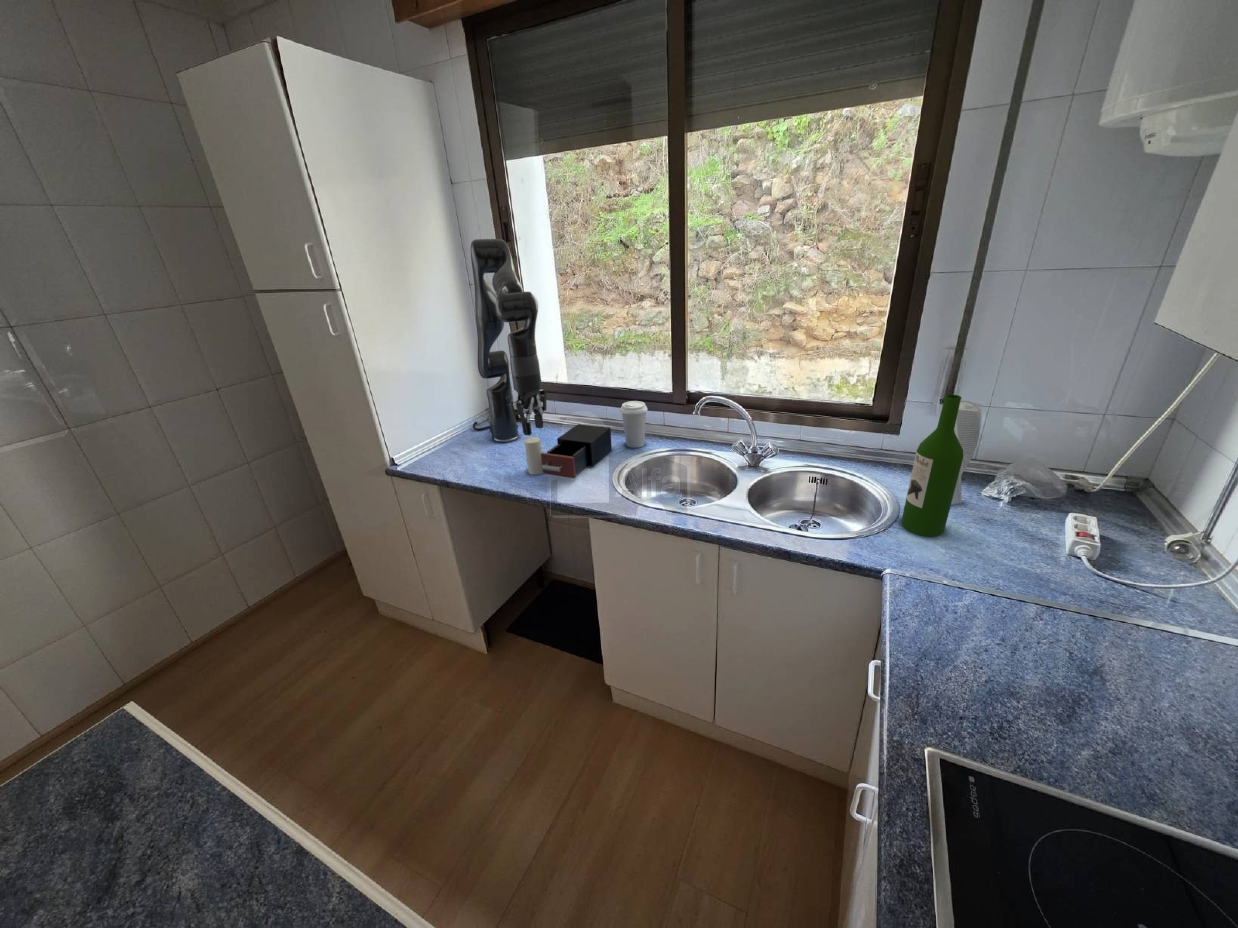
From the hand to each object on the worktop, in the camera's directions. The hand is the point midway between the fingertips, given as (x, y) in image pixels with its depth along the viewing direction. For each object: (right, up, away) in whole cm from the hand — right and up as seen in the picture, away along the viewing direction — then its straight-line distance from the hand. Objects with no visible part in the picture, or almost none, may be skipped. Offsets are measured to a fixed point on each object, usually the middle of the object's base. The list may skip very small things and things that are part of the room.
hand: (533, 431), depth 136 cm
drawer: (+7, -11, +19) cm, 23 cm away
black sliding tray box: (+13, -7, +31) cm, 34 cm away
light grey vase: (+109, -19, -8) cm, 111 cm away
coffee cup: (+30, -2, +39) cm, 49 cm away
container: (-3, -12, +22) cm, 25 cm away
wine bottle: (+97, -25, -19) cm, 102 cm away
